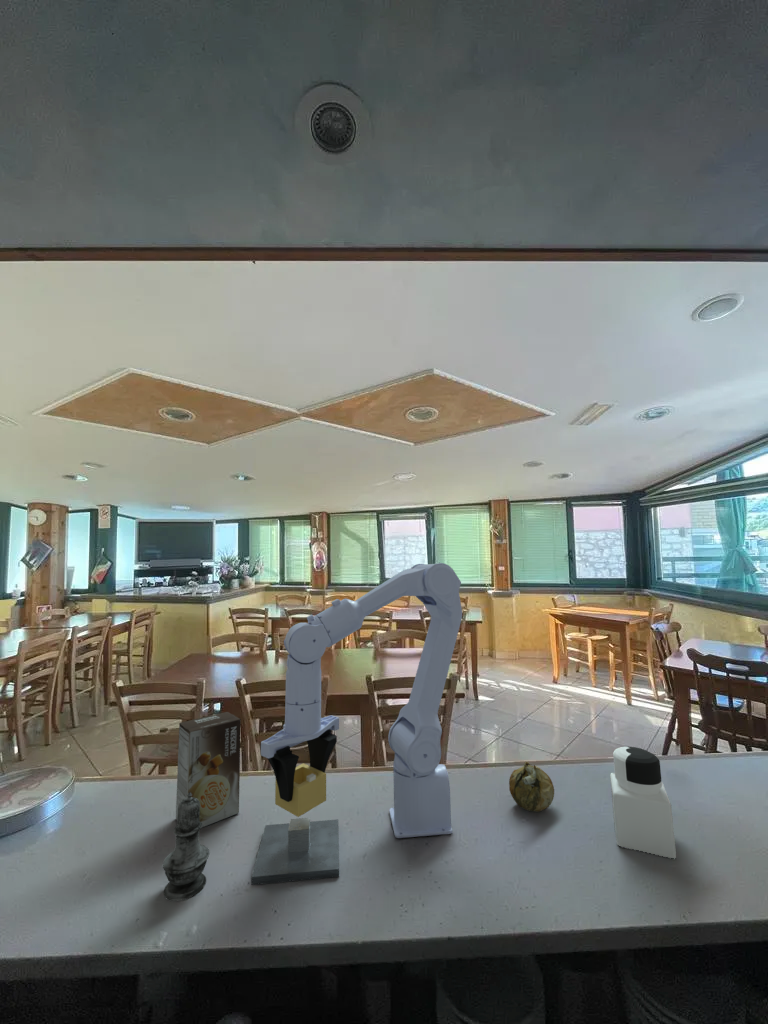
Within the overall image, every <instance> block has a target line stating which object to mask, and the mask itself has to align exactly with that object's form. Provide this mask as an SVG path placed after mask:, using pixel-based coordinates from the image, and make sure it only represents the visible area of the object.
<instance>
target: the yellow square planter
mask: <svg viewBox="0 0 768 1024" xmlns="http://www.w3.org/2000/svg"><path fill="white" fill-rule="evenodd" d="M274 785H275V789H274V790H275V794H274V796H275V798H274V799H275V800H274V801H275V804H274V805H276V806H278V807H279V808H281V809H283V810H284V811H287V812H289V813H290V814H292V815H294V816H296V817H297V818H299V817H301V816H302V815H304V814H306V813H307V812H310V811H311V810H312V809H315V808H317V807H318V806H319V805H321V804H322V803H324V802H326V801H327V773H326V772H325V773H324V772H322V771H320V770H317V769H315V768H313V767H310V765H308V764H306V763H301V764H298V766H297V765H296V769H295V775H294V787H293V797H292V800H291V801H289V802H287V801H285V800H283V799H281V798H280V794H279V789H278V784H277V780H276V779H275V783H274Z"/></svg>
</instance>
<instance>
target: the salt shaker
mask: <svg viewBox="0 0 768 1024" xmlns="http://www.w3.org/2000/svg"><path fill="white" fill-rule="evenodd" d="M187 796H188V798H186V799H184V800H183V801H182V802H181V803H180V804H179V806H178V817H177V820H176V826H175V828H174V829H173V834H174V835H175V846H174V850H173V851H172V852H170V853H169V854H168V855H167V856H166V857H165V858H164V860H163V861H162V862H163V863H162V869H163V871H164V874H165V877H166V879H167V881H168V883H167V884H166V885H165V886H164V890H163V896H164V898H165V899H166V898H167V899H166V900H167V901H170V902H181V901H182V902H183V901H185V900H188V899H191V898H193V897H196V895H198V894H199V893H200V892H202V891H203V889H204V888H205V886H206V883H207V877H206V875H205V874H203V872H204V870H205V869H206V868H205V867H206V865H207V862H208V859H209V857H210V853H211V852H210V849H209V847H208V846H206V845H204V844H201V843H200V831H201V829H202V828H203V827H202V823H201V822H200V821H199V817H200V801H199V800H198V799H197V798H194V797H191V796H192V794H191V793H190V792H189V793H188V795H187ZM201 827H202V828H201Z"/></svg>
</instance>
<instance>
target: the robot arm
mask: <svg viewBox="0 0 768 1024" xmlns="http://www.w3.org/2000/svg"><path fill="white" fill-rule="evenodd" d="M461 584H462V581H461V580H460V579H459V577H458V575H457V573H456V572H455V570H454V569H453V567H451V566H450V565H449V564H447V563H444V562H437V563H430V564H429V563H428V564H424V563H417V564H415V565H413V566H411V567H410V568H405V569H403V570H401V571H400V572H398V573H396V574H395V575H393V576H392V577H390V578H388V579H387V580H385V581H384V582H383V583H381V584H379V585H377V586H376V587H375V588H372V589H371V590H369V591H368V592H367V593H365V594H364V595H362V596H360V597H358V598H357V599H356V600H351V599H349V598H343V599H342V600H340V599H339V598H336V599H334V600H332V601H331V605H330V606H329V607H327V608H326V609H324V610H323V611H321V612H319V613H318V614H315V615H313V614H310V615H308V616H307V617H306V619H307V622H299V623H296V624H293V625H292V626H291V627H290V628H289V629H288V631H287V632H286V635H285V637H284V639H283V645H284V648H285V650H286V652H287V653H288V654H287V659H286V668H287V669H286V671H285V695H284V696H285V698H284V699H285V707H284V709H285V710H284V711H285V712H284V724H283V725H282V728H283V729H281V730H279V731H278V732H276V733H275V734H273V735H272V736H270V737H267V739H264V740H262V741H261V742H260V756H261V757H263V758H266V759H267V761H268V762H269V764H270V766H271V768H272V771H273V774H274V777H275V781H276V780H277V784H278V789H279V794H280V798H281V799H283V800H285V801H287V802H289V801H291V800H292V797H293V787H294V775H295V769H296V767H297V765H298V761H299V759H300V756H299V755H297V754H294V753H293V750H292V749H291V748H293V747H294V746H297V745H299V744H302V743H304V742H306V743H307V747H308V748H307V749H308V754H309V766H310V767H313V768H315V769H317V770H320V771H322V772H324V773H326V770H327V769H326V768H327V766H328V762H329V759H330V757H331V754H332V752H333V749H334V748H335V746H336V744H337V742H338V739H337V738H338V736H337V734H334V733H332V731H333V732H336V731H338V730H339V729H340V717H339V716H335V715H328V716H324V717H322V669H321V667H322V657H323V655H324V654H325V651H326V648H330V647H332V646H334V645H335V644H337V643H338V642H340V641H342V640H344V639H345V638H347V637H349V636H350V635H351V634H354V633H355V632H356V631H357V632H358V630H360V629H361V628H362V626H363V623H364V620H365V618H366V617H368V616H369V615H371V614H373V613H374V612H376V611H378V610H380V609H382V608H384V607H386V606H388V605H390V604H391V603H393V602H395V601H397V600H399V599H400V598H402V597H415V598H417V599H418V600H419V601H420V602H421V603H422V604H423V606H424V607H425V609H426V610H427V612H428V614H429V615H430V621H429V624H428V625H429V626H428V629H427V632H426V633H427V634H426V635H425V640H424V644H423V648H422V650H421V651H422V652H421V655H420V658H419V661H418V664H417V665H418V666H417V670H416V673H415V677H414V680H413V684H412V688H411V692H410V694H409V699H408V702H407V703H406V704H405V705H404V706H402V707H401V708H400V710H399V712H398V716H397V718H396V720H395V721H394V722H393V724H392V725H391V727H390V728H389V731H388V736H387V737H388V744H389V745H388V746H389V748H390V749H391V750H392V751H393V753H394V759H393V763H392V765H393V767H392V768H393V774H392V775H393V807H390V808H389V810H388V812H389V817H390V821H391V824H392V825H391V826H392V829H393V835H394V837H395V838H396V839H402V838H403V839H404V838H414V837H427V836H429V837H430V836H438V835H439V836H440V835H451V834H452V833H453V828H452V812H451V811H452V808H451V807H452V806H451V805H452V804H451V786H450V778H449V773H448V770H447V767H446V765H445V764H443V763H440V762H441V758H442V746H441V738H442V735H443V734H442V733H443V730H442V726H441V722H440V719H439V715H438V713H439V709H440V706H441V705H440V704H441V701H442V698H443V693H444V688H445V685H446V681H447V677H448V674H449V670H450V665H451V662H452V659H453V658H452V657H453V654H454V651H455V646H456V642H457V638H458V634H459V631H460V627H461V623H462V619H463V609H462V603H461V602H462V601H461V597H460V588H461Z"/></svg>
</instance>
